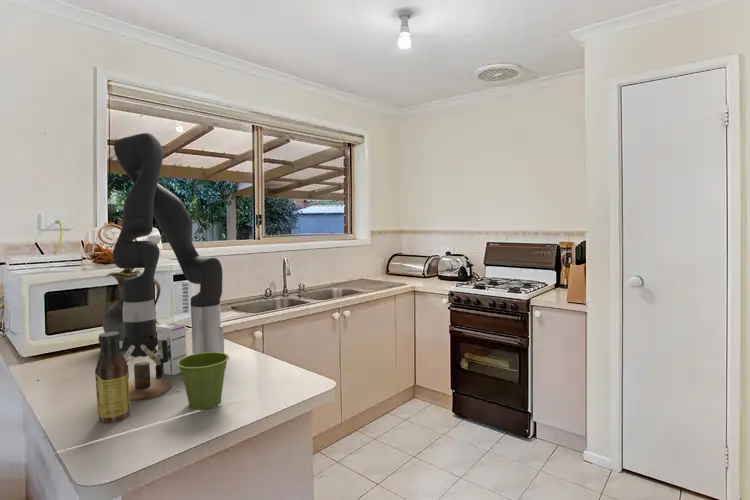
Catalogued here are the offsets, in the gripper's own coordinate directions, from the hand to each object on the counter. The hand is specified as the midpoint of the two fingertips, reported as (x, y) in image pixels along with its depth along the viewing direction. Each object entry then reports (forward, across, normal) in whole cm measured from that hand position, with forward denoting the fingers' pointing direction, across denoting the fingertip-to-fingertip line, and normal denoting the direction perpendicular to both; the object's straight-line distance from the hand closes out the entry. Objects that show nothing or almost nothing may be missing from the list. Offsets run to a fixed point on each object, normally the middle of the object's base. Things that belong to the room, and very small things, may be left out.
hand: (142, 379), depth 114 cm
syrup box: (+4, +3, +15) cm, 16 cm away
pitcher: (+4, -21, +48) cm, 52 cm away
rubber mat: (+4, 0, 0) cm, 4 cm away
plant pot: (+4, +18, -10) cm, 21 cm away
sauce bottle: (+4, 0, -16) cm, 16 cm away
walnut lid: (+3, 0, 0) cm, 3 cm away
